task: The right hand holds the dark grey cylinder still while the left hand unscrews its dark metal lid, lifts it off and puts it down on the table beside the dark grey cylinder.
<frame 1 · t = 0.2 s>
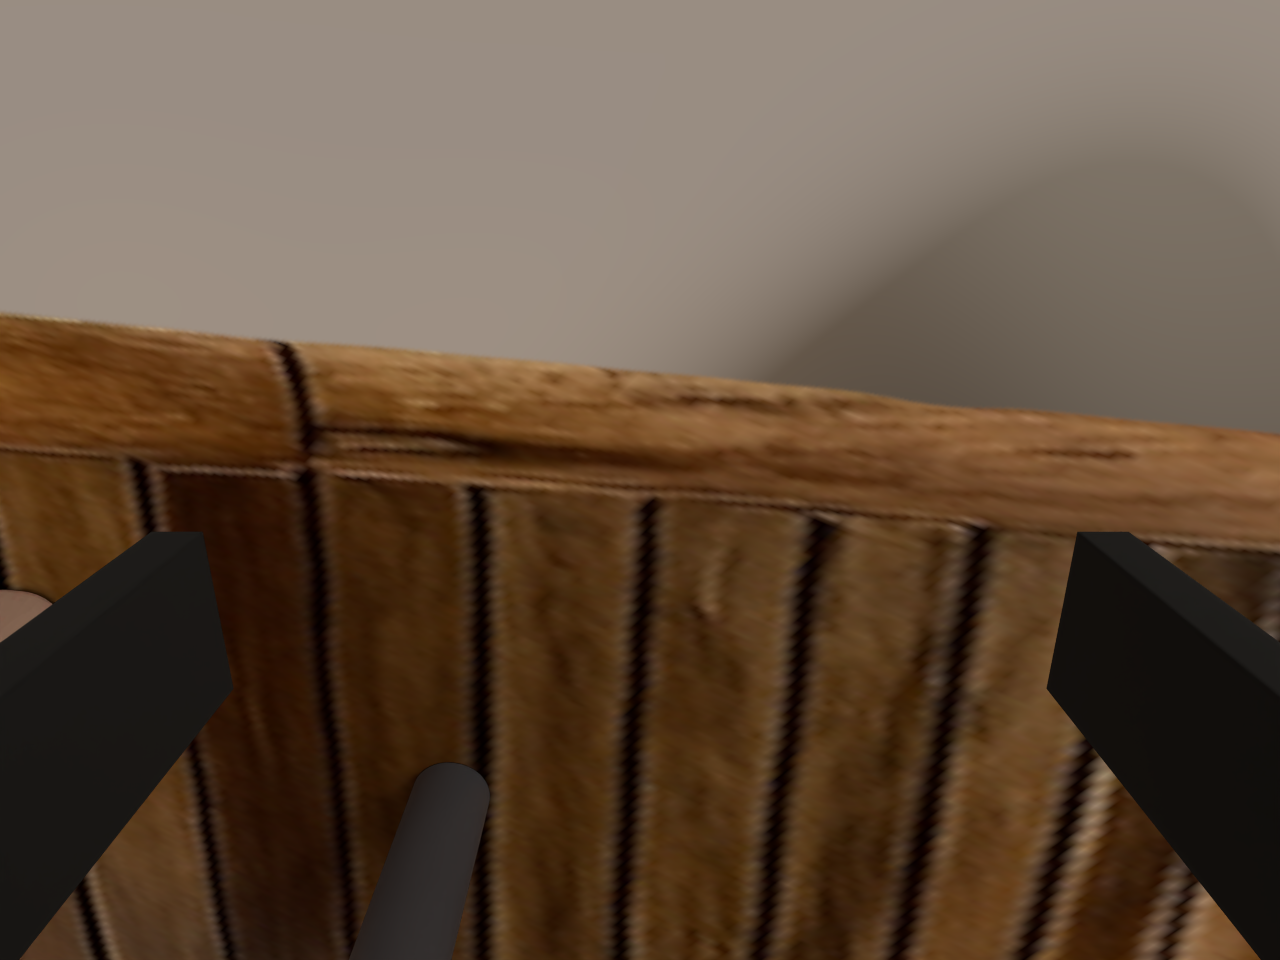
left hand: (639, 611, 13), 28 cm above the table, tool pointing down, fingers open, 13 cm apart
dark grey cylinder: (451, 793, 49), on the table
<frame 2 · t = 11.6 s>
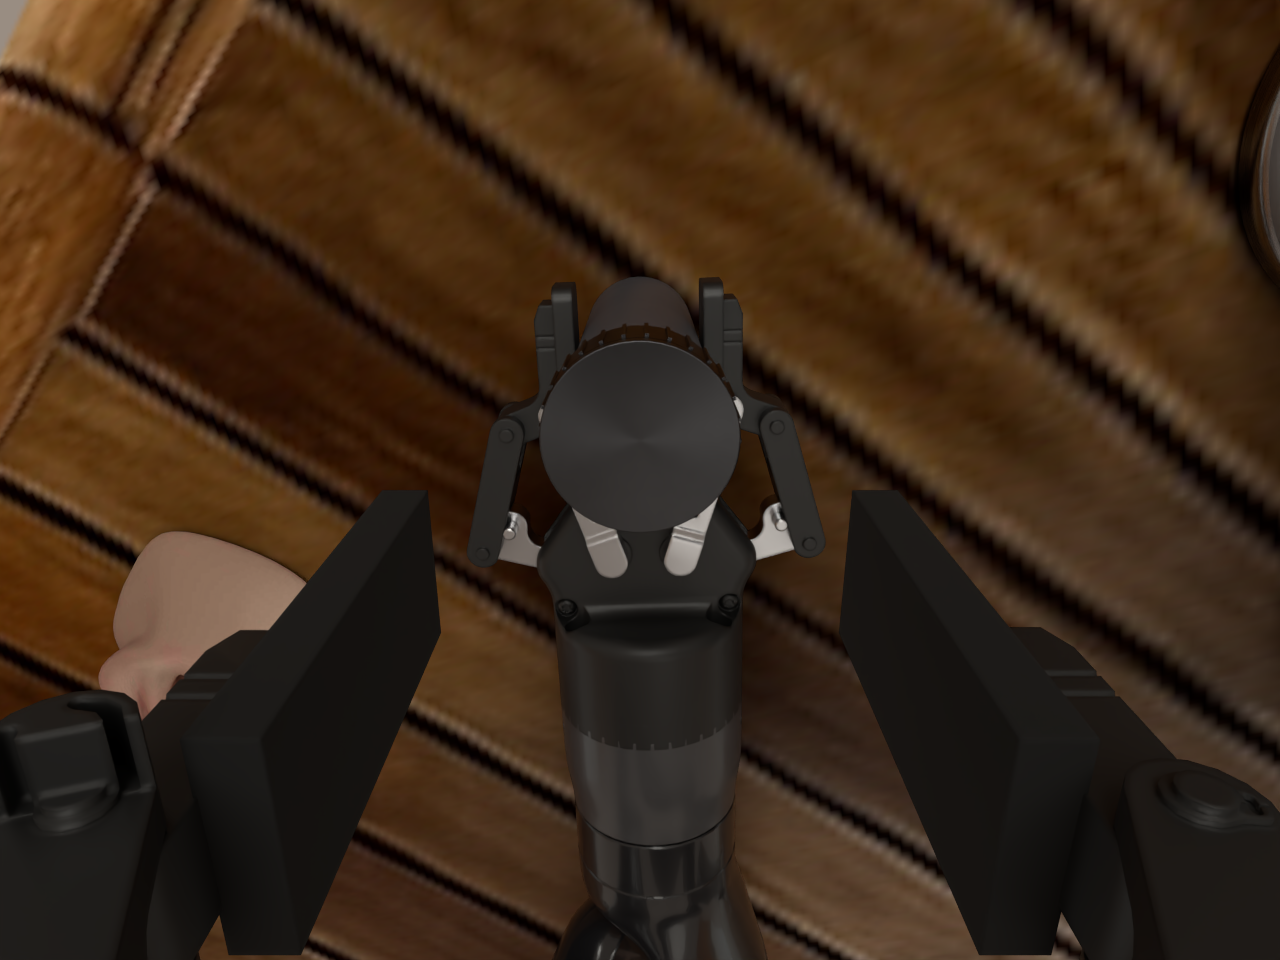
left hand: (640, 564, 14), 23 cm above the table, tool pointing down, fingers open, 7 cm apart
right hand: (636, 284, 29), fingers closed on dark grey cylinder, 4 cm apart
lid: (639, 436, 21), point 16 cm above the table, screwed on, not yet turned
dark grey cylinder: (639, 329, 36), on the table, touching right hand
anatomical model: (237, 654, 42), on the table
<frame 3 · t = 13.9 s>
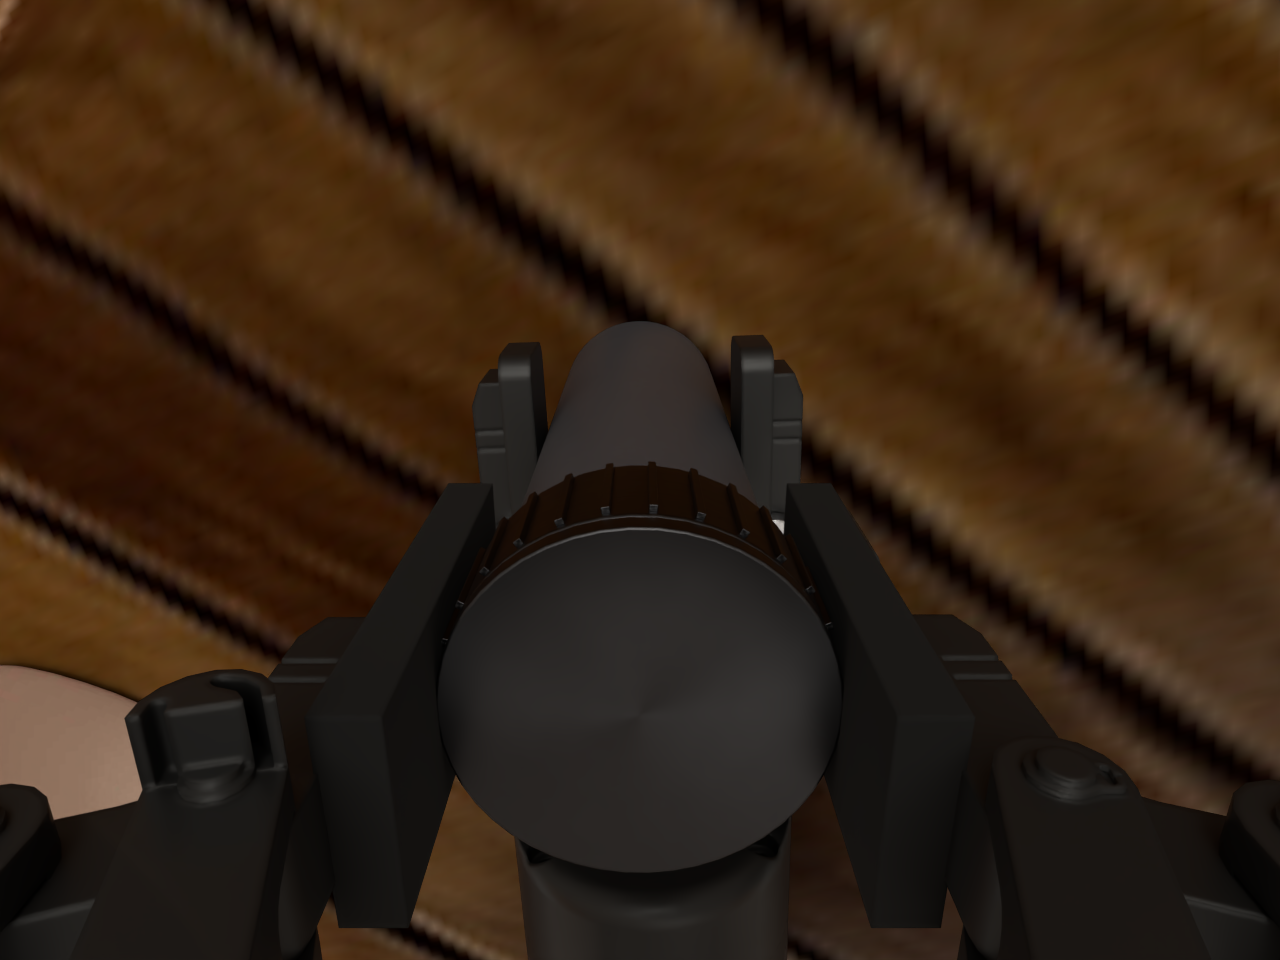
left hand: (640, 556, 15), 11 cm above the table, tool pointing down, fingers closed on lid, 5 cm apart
lid: (639, 698, 11), point 16 cm above the table, screwed on, not yet turned, touching left hand
dark grey cylinder: (640, 394, 25), on the table, touching right hand
anatomical model: (99, 819, 31), on the table
when the left hand's fingers open (12 cm above the table, at t = 15.0 s): lid stays where it is, point 16 cm above the table.
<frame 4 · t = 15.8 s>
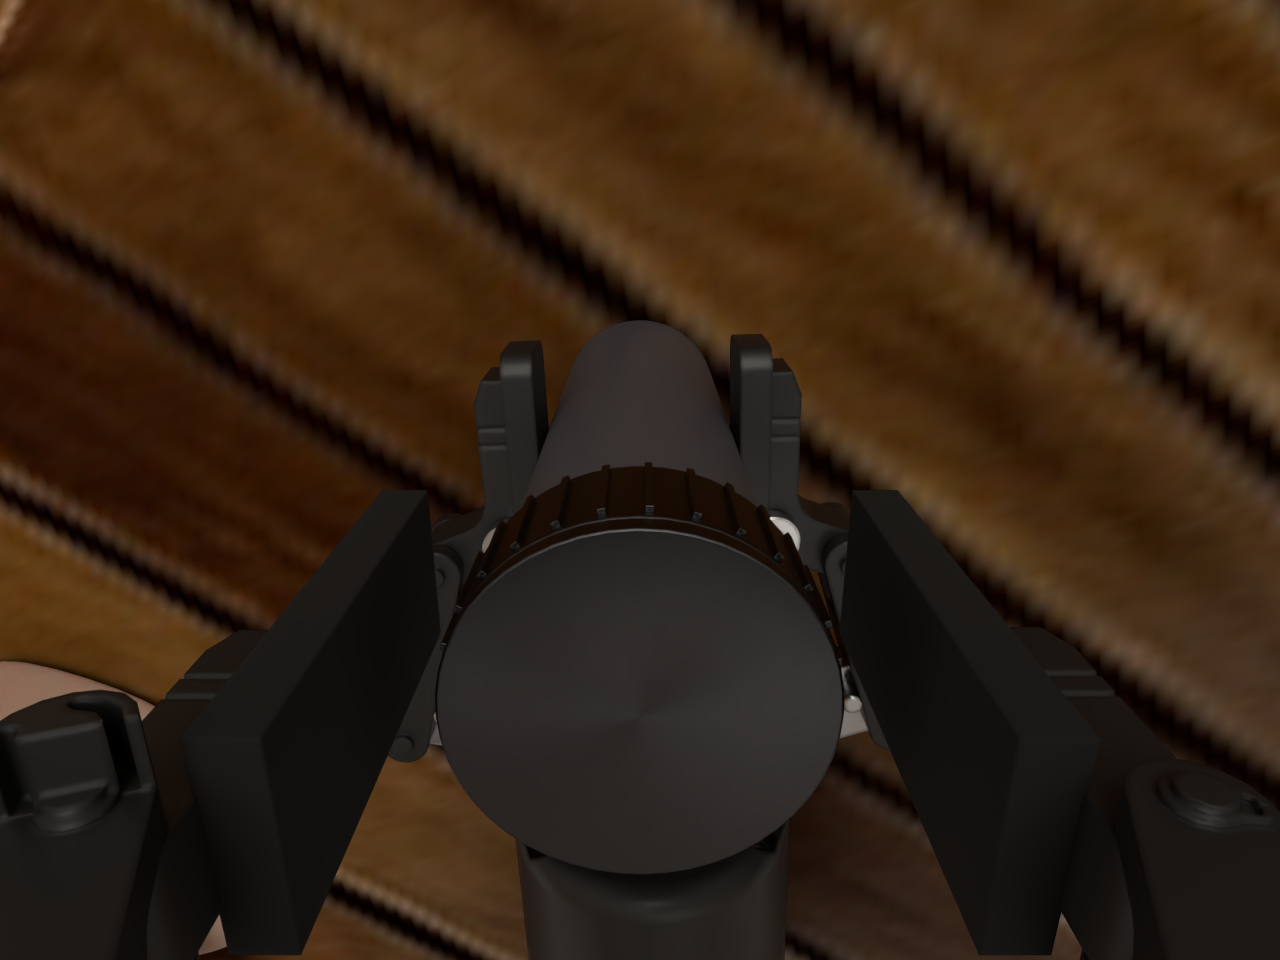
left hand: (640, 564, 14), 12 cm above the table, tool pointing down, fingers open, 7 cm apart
lid: (639, 699, 11), point 16 cm above the table, turned 65° so far, risen 0.2 cm, still on its thread
dark grey cylinder: (639, 393, 26), on the table, touching right hand
anatomical model: (101, 814, 31), on the table
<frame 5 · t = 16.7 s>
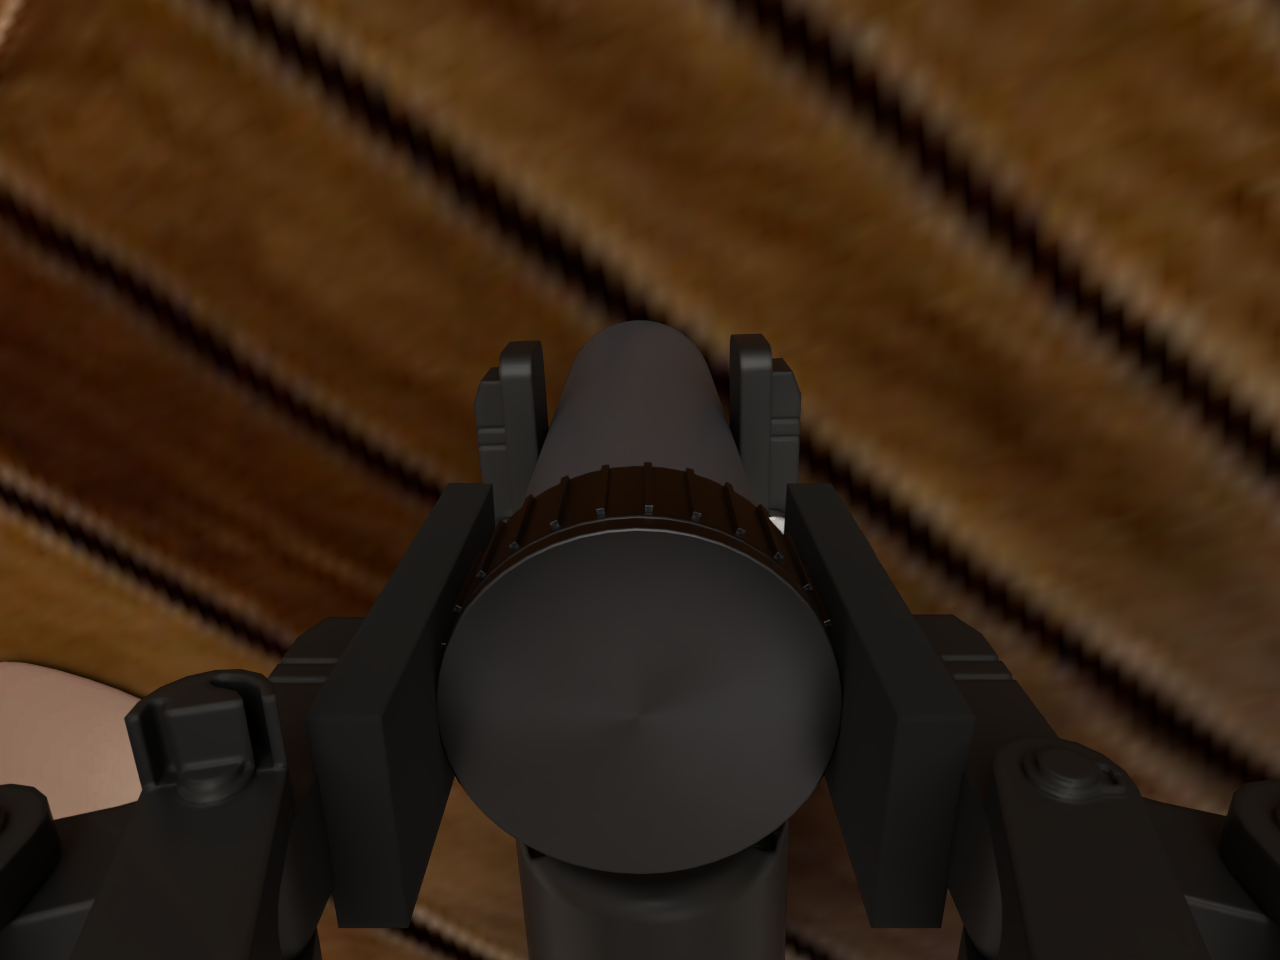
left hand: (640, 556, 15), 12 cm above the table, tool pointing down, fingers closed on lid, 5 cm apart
lid: (639, 699, 11), point 16 cm above the table, turned 65° so far, risen 0.2 cm, still on its thread, touching left hand
dark grey cylinder: (639, 393, 26), on the table, touching right hand
anatomical model: (102, 815, 31), on the table
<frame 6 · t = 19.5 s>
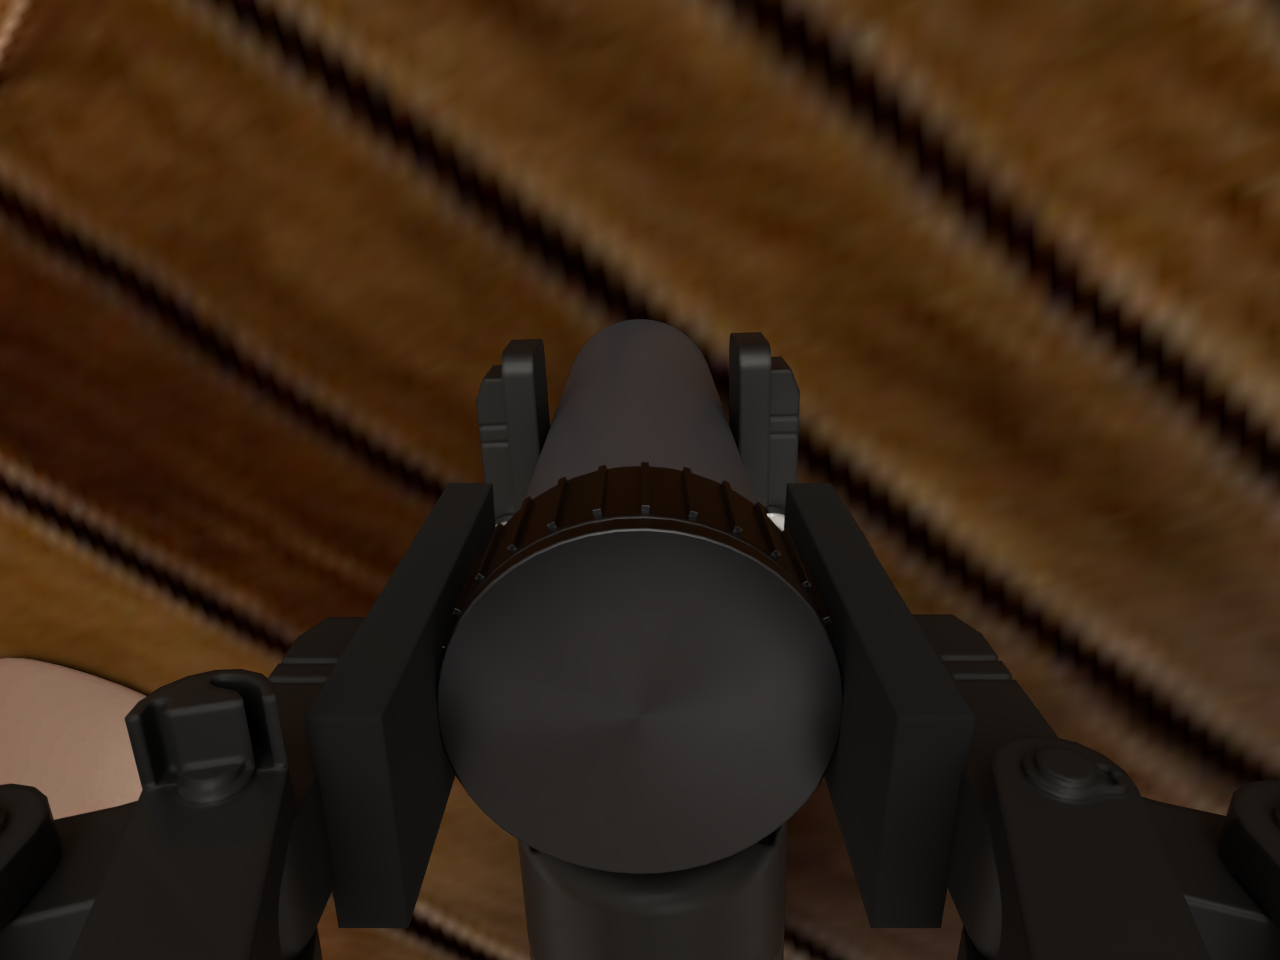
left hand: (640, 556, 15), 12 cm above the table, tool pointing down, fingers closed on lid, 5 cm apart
lid: (640, 699, 11), point 16 cm above the table, turned 131° so far, risen 0.4 cm, still on its thread, touching left hand
dark grey cylinder: (640, 391, 26), on the table, touching right hand
anatomical model: (105, 810, 31), on the table
when the left hand's fingers open (0 cm above the table, at t = 25.6 s): lid drops 2 cm, point 2 cm above the table.
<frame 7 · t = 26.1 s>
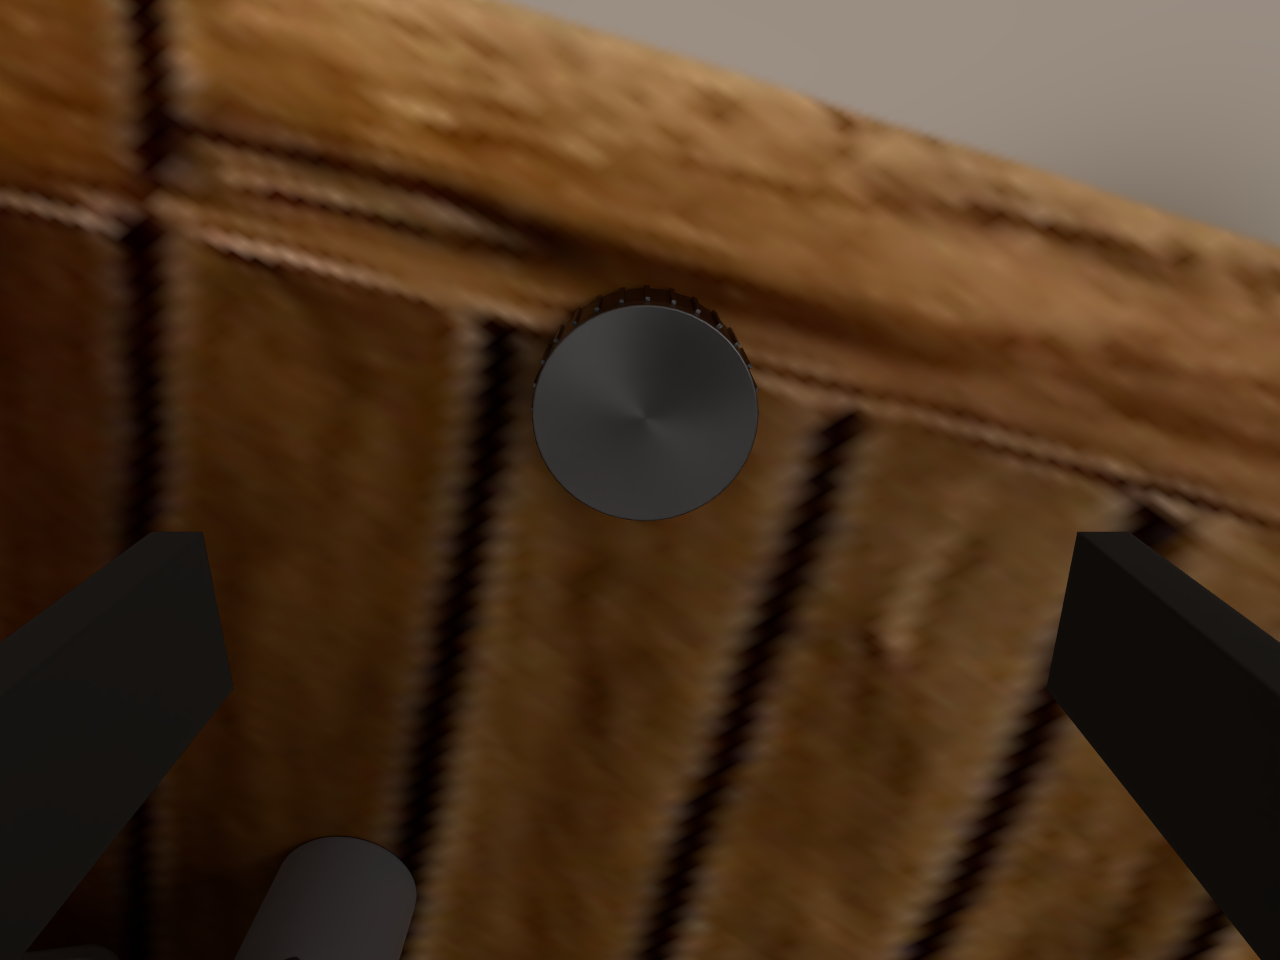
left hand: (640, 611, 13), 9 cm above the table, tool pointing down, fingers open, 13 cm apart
lid: (645, 413, 19), point 2 cm above the table, off its thread
dark grey cylinder: (347, 888, 27), on the table, touching right hand
when the right hand's fingers open (6 cm above the table, at t = 26.2 s): dark grey cylinder stays where it is, on the table.
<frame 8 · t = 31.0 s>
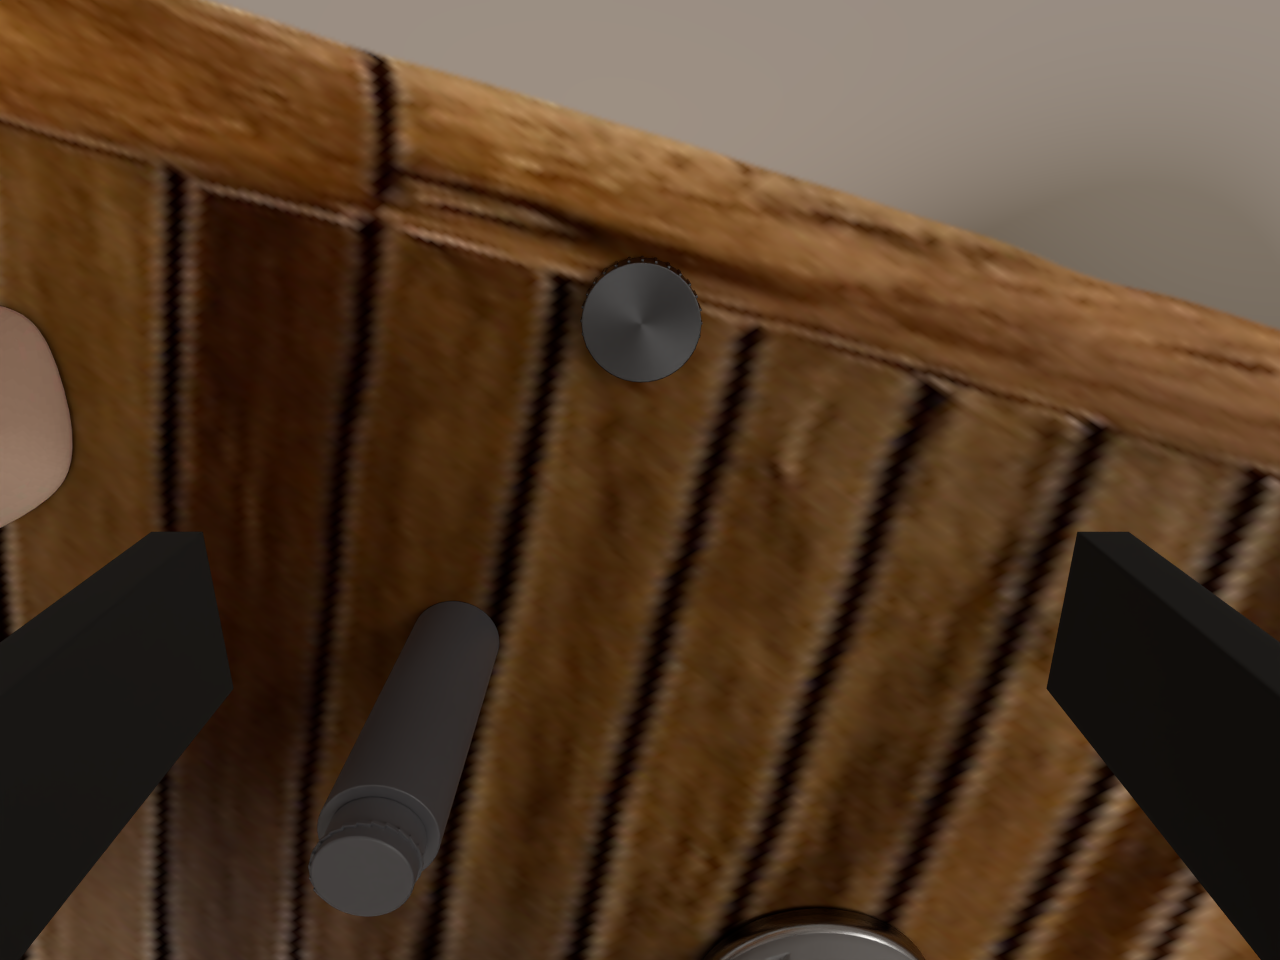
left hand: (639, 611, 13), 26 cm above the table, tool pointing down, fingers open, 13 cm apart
lid: (641, 322, 36), point 2 cm above the table, off its thread
dark grey cylinder: (456, 639, 43), on the table
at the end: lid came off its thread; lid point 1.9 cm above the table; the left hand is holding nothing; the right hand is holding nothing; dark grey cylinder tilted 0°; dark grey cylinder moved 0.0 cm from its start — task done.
